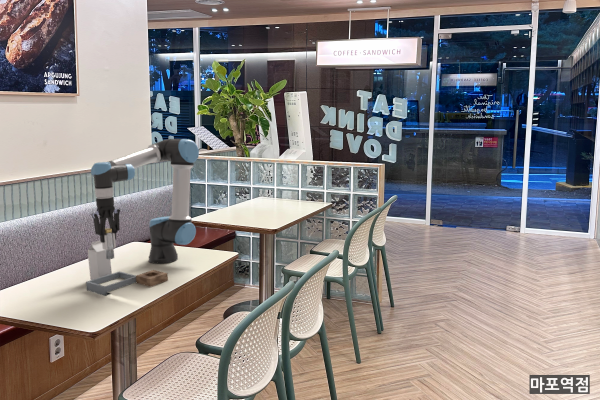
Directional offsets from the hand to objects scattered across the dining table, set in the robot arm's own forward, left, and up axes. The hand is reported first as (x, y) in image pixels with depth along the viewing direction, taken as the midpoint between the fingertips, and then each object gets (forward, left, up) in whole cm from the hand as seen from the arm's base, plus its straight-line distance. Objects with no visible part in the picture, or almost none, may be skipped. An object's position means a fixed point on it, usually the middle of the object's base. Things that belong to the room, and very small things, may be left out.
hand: (109, 247), depth 246 cm
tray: (0, 0, -19) cm, 19 cm away
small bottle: (0, 0, -5) cm, 5 cm away
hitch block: (-12, +13, -19) cm, 26 cm away
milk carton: (-4, -15, -19) cm, 24 cm away
